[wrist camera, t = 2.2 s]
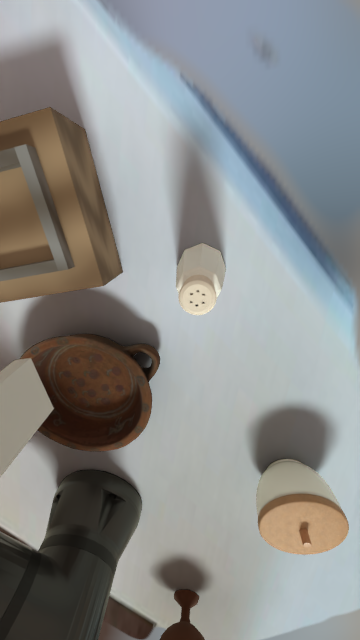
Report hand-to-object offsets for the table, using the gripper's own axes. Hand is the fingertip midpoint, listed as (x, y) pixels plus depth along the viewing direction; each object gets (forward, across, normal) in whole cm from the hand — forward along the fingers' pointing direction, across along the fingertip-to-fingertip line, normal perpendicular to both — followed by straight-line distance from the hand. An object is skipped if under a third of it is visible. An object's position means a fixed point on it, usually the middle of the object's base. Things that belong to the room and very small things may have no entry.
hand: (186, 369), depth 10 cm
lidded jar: (+21, -8, +33) cm, 40 cm away
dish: (+21, +17, +13) cm, 30 cm away
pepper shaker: (+21, 0, 0) cm, 21 cm away
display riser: (+20, +16, -8) cm, 27 cm away
